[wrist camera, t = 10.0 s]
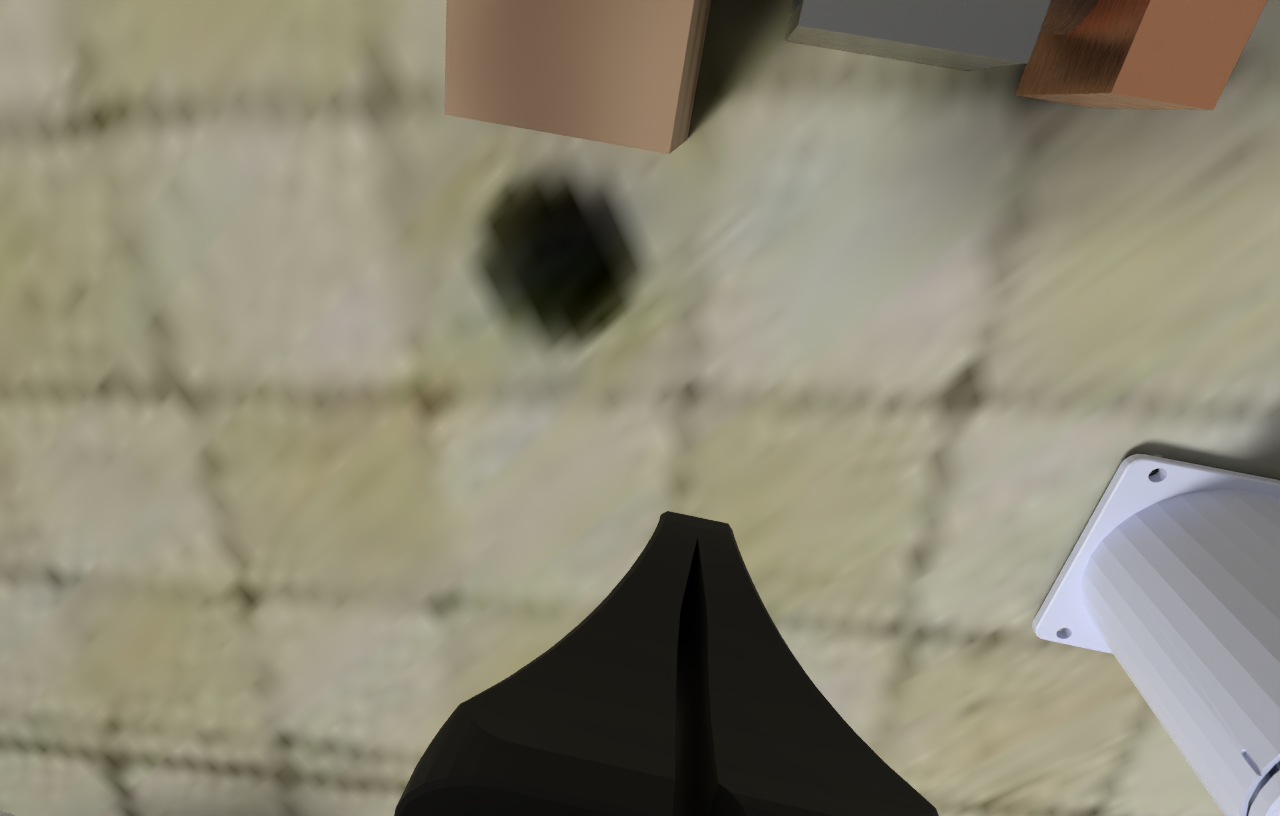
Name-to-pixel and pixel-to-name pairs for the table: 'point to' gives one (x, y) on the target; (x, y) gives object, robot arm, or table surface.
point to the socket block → (578, 67)
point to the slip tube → (1138, 52)
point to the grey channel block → (924, 29)
